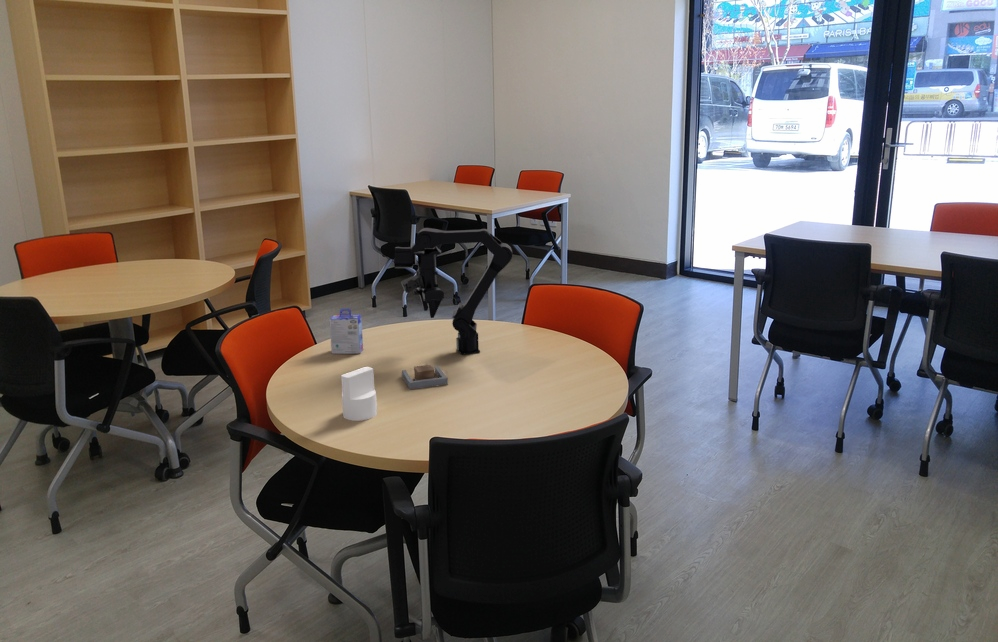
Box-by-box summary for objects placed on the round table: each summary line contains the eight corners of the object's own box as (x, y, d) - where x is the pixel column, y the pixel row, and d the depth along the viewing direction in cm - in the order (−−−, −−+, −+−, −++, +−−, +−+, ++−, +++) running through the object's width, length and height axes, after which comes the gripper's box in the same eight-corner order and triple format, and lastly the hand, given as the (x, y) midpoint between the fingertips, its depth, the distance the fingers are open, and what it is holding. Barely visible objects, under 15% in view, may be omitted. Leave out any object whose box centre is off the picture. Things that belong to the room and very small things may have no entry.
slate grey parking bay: (438, 371, 234) (438, 365, 233) (447, 384, 223) (447, 378, 223) (402, 376, 230) (401, 370, 230) (409, 389, 220) (409, 382, 219)
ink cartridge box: (364, 348, 256) (361, 307, 252) (361, 354, 251) (358, 312, 247) (335, 349, 256) (331, 307, 252) (331, 354, 251) (328, 312, 247)
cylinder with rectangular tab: (362, 404, 209) (359, 363, 206) (384, 412, 204) (381, 370, 201) (336, 415, 203) (332, 373, 199) (358, 423, 197) (355, 380, 194)
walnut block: (430, 376, 230) (430, 364, 229) (434, 382, 225) (434, 369, 224) (414, 379, 228) (414, 366, 227) (418, 384, 224) (417, 371, 223)
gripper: (396, 264, 250) (399, 309, 255) (408, 275, 233) (410, 324, 238) (429, 261, 254) (431, 306, 258) (443, 272, 237) (445, 320, 241)
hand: (428, 314), depth 249 cm, fingers open, 9 cm apart
